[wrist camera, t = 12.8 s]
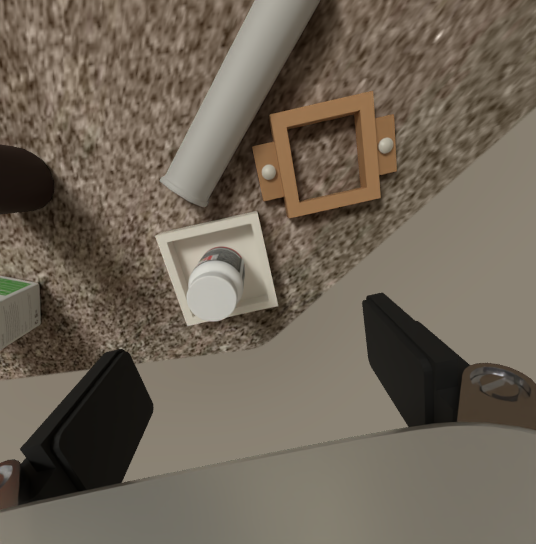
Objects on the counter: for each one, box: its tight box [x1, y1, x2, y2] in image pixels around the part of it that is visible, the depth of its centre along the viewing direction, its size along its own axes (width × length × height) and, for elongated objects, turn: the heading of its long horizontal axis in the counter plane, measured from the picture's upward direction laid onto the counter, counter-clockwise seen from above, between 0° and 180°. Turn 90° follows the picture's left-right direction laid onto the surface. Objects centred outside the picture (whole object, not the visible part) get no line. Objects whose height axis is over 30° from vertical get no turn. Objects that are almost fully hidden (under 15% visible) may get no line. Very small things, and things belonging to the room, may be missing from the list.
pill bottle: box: [187, 246, 245, 321], centre depth 29 cm, size 6×6×10 cm
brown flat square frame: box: [252, 91, 397, 218], centre depth 30 cm, size 16×11×2 cm
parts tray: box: [155, 211, 278, 326], centre depth 33 cm, size 12×12×2 cm
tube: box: [160, 0, 320, 207], centre depth 26 cm, size 5×5×25 cm
